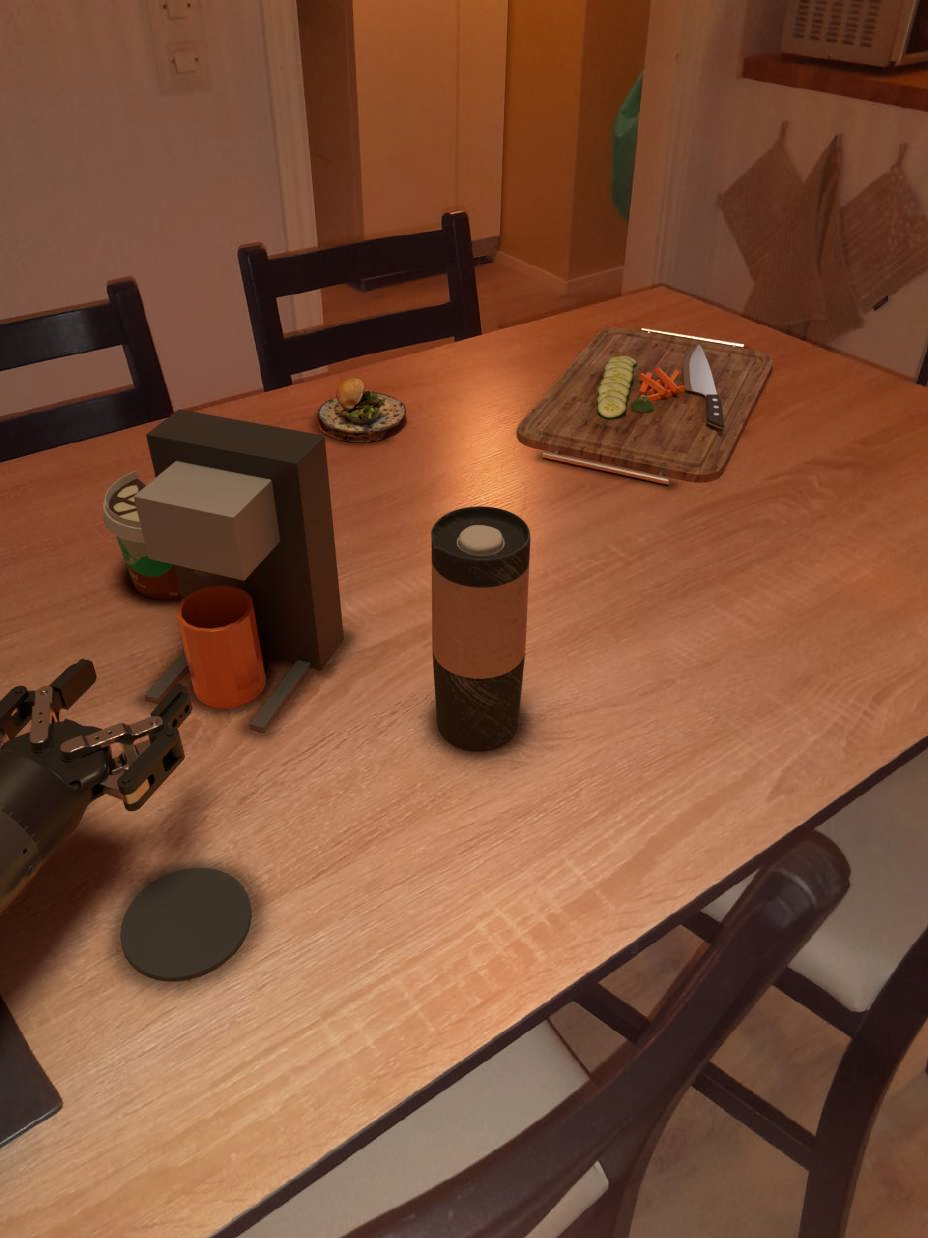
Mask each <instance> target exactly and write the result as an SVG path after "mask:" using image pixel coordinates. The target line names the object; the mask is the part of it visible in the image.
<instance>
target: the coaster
mask: <svg viewBox="0 0 928 1238" xmlns="http://www.w3.org/2000/svg"><path fill="white" fill-rule="evenodd" d="M250 901H251V900H250V897H249V895H248V892H247V891H246V889H245V888H244V886H243V885H242V884H241V882H239V881H238V880H237V879H236V878H235V877H233V876H232V875H230V874H229V873H227V872H224V871H222V870H219V869H216V868H209V867H189V868H183V869H179V870H176V871H173V872H169V873H168V874H165V875H163V876H161V877H159V878H157V879H156V880H154V881H152V882H151V883H149V885H147V886H146V887H145V888H143V889H142V890H141V891H140V892H139V893H138V894H137V895H136V896H135V897H134V899H133V900H132V901H131V903H130V904H129V905H128V908H127V910H126V911H125V913H124V916H123V918H122V922H121V925H120V933H119V934H120V945H121V947H122V951H123V953H124V956H125V957H126V959H127V961H128V962H129V964H130V965H131V966H132V967H133V968H134V969H135V970H136V971H138V972H139V973H140V974H142V975H144V976H146V977H148V978H150V979H151V978H152V979H155V980H157V981H158V980H159V981H163V982H181V981H187V980H188V981H189V980H192V979H195V978H199V977H202V976H204V975H207V974H210V973H211V972H213V971H214V970H216V969H218V968H219V967H221V966H223V965H224V964H225V963H226V962H228V961H229V960H230V959H231V958H232V957H233V956H234V955H235V954H236V953H237V952H238V950H239V949H240V948H241V946H242V945H243V943H244V941H246V940H245V939H246V938H247V936H248V934H249V930H250V927H251V923H252V905H251V902H250Z"/></svg>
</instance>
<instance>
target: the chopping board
mask: <svg viewBox="0 0 928 1238" xmlns="http://www.w3.org/2000/svg"><path fill="white" fill-rule="evenodd" d="M773 364H774V359H773V358H772V357H771V356H770V355H769V354H767V353H764V352H762V351H759V350H755V349H748V348H745V344H744V343H738V342H732V341H725V340H719V339H716V338H715V339H713V338H708V337H703V336H702V337H701V336H696V335H692V334H691V335H689V334H684V333H678V332H672V331H667V330H660V329H653V328H649V327H648V328H647V327H641V329H640V330H636V329H630V328H623V327H610V328H609V327H608V328H605V329H602V330H600V331H599V332H598V333H597V334H596V335H595V336H594V337H593V338H592V339H591V341H589V343H588V344H587V345H586V346H585V348H584V349H582V351H581V352H580V353H579V354H578V355H577V357H575V359H574V360H573V361H572V362H571V363H570V364H569V365H568V367H567V368H566V369H565V371H563V373H562V374H561V375H560V376H559V377H558V378H557V380H555V382H554V383H553V384H552V386H551V387H550V388H549V389H547V391H546V392H545V393H544V394H543V395H542V397H541V398H540V399H539V400H538V401H537V402H536V403H535V404H534V406H533V407H532V408H531V409H529V411H528V412H527V414H526V415H525V416H524V417H523V418H522V419H521V420H520V422H519V423H518V424H517V427H516V438H517V440H518V442H519V443H520V444H522V445H523V446H526V447H529V448H532V449H535V450H540V451H543V452H542V458H543V459H546V460H547V459H548V460H553V461H557V462H560V463H566V464H570V465H575V466H580V467H585V468H588V469H593V470H599V471H603V472H608V473H612V474H617V475H621V476H624V477H625V476H626V477H630V478H635V479H639V480H644V481H649V482H652V483H658V484H662V485H667V486H668V485H669V484H670V480H671V479H674V480H679V481H685V482H688V483H697V484H702V483H710V482H713V481H715V480H718V479H719V478H720V477H721V476H722V475H723V473H724V470H725V469H726V466H727V464H728V463H729V460H730V458H731V456H732V454H733V452H734V449H736V448H735V447H736V446H737V443H738V442H739V439H740V437H741V435H742V433H743V431H744V428H745V427H746V425H747V422H748V421H749V418H750V416H751V414H752V412H753V411H754V408H755V405H756V404H757V401H758V400H759V397H760V395H761V393H762V391H763V389H764V387H765V385H766V384H767V381H768V379H769V377H770V374H771V373H772V371H773V370H772V369H773Z"/></svg>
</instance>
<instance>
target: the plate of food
mask: <svg viewBox="0 0 928 1238" xmlns="http://www.w3.org/2000/svg"><path fill="white" fill-rule="evenodd" d="M337 374H338V376H339V378H340V379H341V380H342V382H341V383H339V384H338V386H337V388H336V392H335V397H332V398H330V399H328V400H326V401H324V402H323V403H322V404H321V405H320V407H319V408H318V411H317V414H316V415H317V426H318V428H319V430H320V431H321V432H322V433H323V434H324V435H326V436H328V437H330V438H332V439H335V440H338V441H343V442H350V443H370V442H372V441H375V442H377V441H382V440H383V438H384V436H385V434H386V431H388V430H390V429H392V428H394V427H397V426H398V425H399V424H400V422H401V421H402V420H403V419H404V418H405V416H406V414H407V408H406V405H405V403H403V401H400V400H399V399H397V398H396V397H394V396H391V395H388V394H386V393H382V392H379V391H378V392H377V391H373V390H372V391H371V390H370V389H365V386H364V382H363V381H362V379H359V378H348V379H345V380H343V378H342V377H341V375H340V373H339V371H337Z"/></svg>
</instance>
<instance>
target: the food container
mask: <svg viewBox="0 0 928 1238" xmlns="http://www.w3.org/2000/svg"><path fill="white" fill-rule="evenodd" d="M145 486H147V484H146V483H144V482H143V481H141V480H140V476H139V472H138V470H137V469H135V470H133V471H132V472H129V473H127V474H124V475H123V476H121V477H120V478H118V479H117V480H116V481H115V482H113V483H112V484H111V485H110V487H108V489H107V491H106V492H105V496H104V499H103V502H102V503H103V504H102V514H103V515H102V518H103V524H104V526H105V528H106V529H107V531H109V532H110V533H111V534H112V535H114V536H116V540H117V543H118V546H119V548H120V551H121V554H122V557H123V559H124V562H125V564H126V567H127V571H128V573H129V577H130V579H131V581H132V584H133V587H134V589H135V590H136V591H137V592H138V593H140V594H141V595H142V596H145V597H146V598H150V599H152V600H159V601H176V600H183V599H182V594H181V590H180V586H179V581H178V577H177V572H176V568H175V565H174V564H170V563H166V562H161V561H157V560H153V559H149V558H148V554H147V549H146V545H145V541H144V537H143V533H142V529H141V525H140V521H139V516H138V512H137V508H136V504H135V500H134V496H135V495H136V494H137V493H138V492H139V491H141V490H142V489H143V488H144V487H145Z"/></svg>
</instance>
